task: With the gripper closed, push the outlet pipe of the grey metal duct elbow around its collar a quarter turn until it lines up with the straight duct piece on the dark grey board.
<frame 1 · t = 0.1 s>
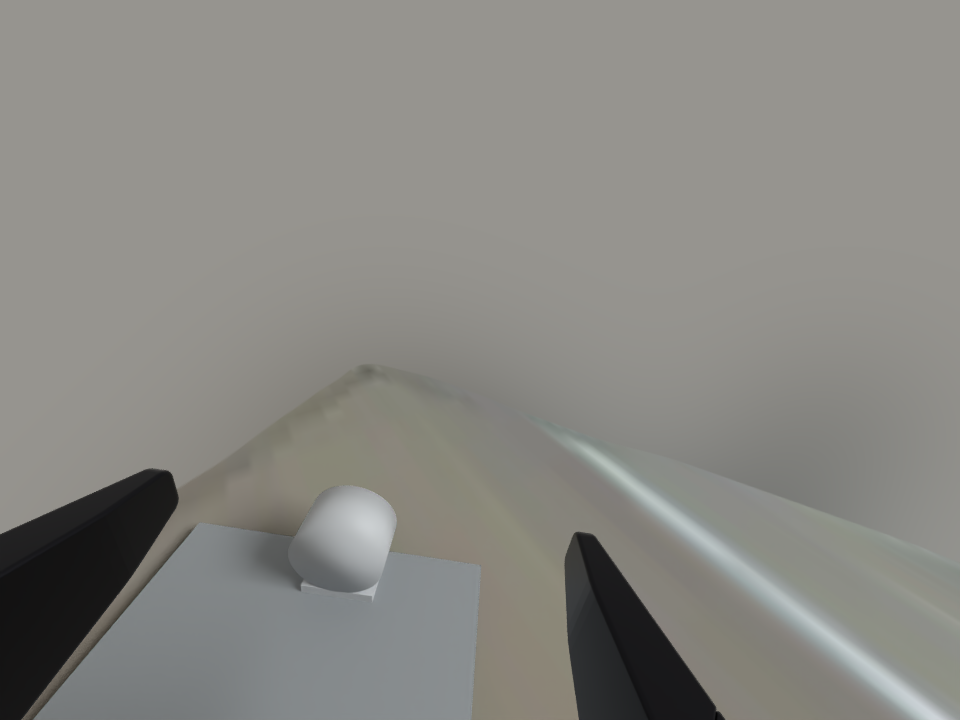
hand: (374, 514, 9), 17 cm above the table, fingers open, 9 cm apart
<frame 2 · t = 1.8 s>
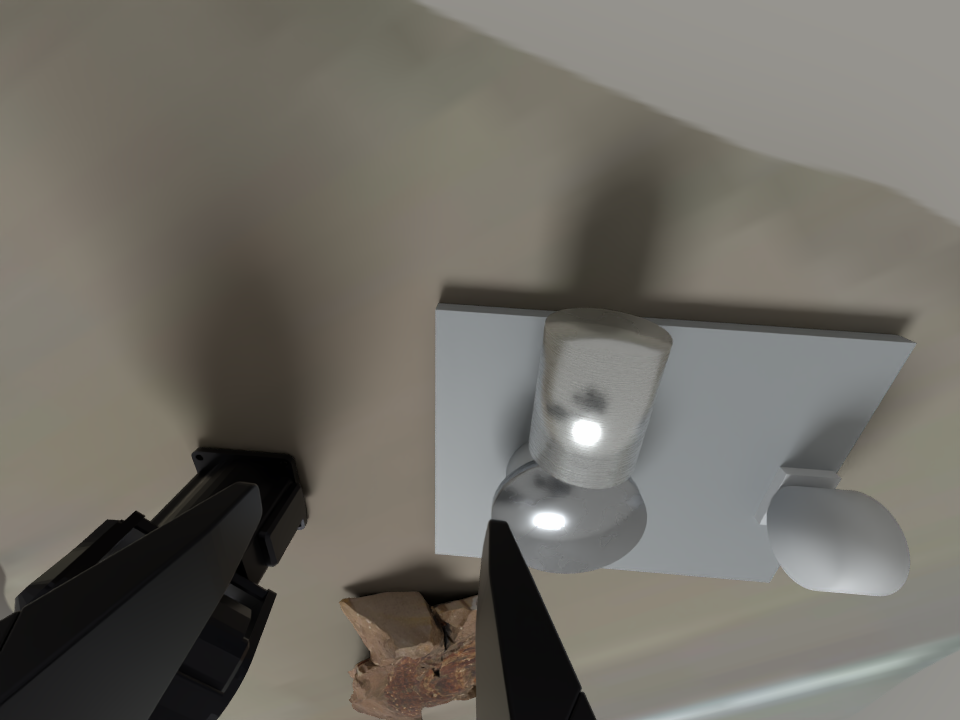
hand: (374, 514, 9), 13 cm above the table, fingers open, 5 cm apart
duct base: (625, 457, 24), on the table
fossil: (454, 642, 35), on the table
elbow: (576, 467, 19), point 4 cm above the table, hinge at 90.0°
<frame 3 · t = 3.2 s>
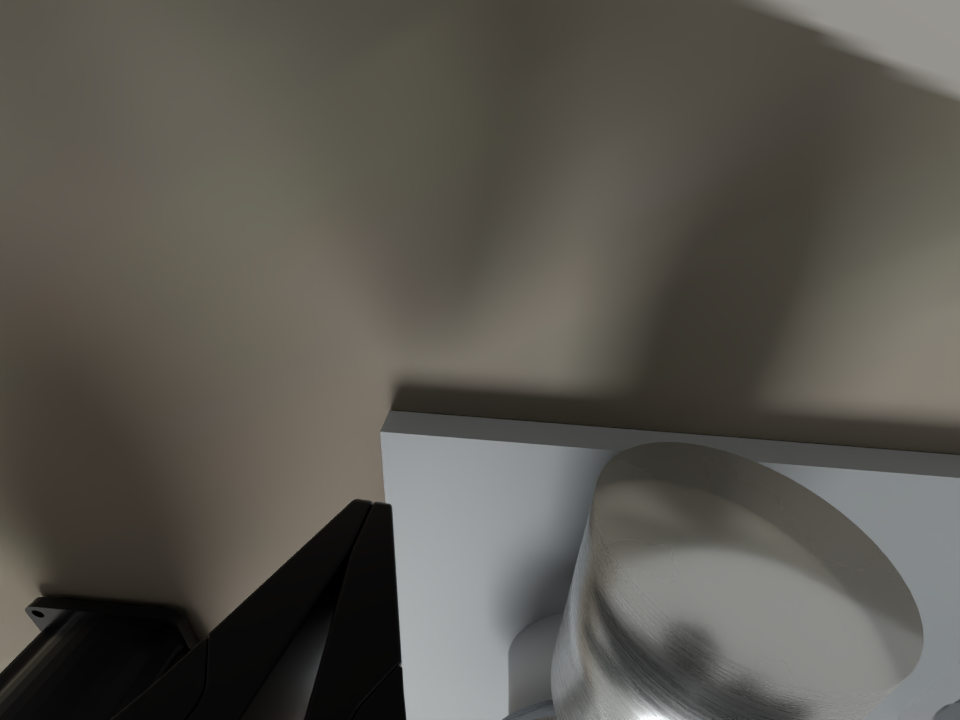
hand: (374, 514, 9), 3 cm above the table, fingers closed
duct base: (696, 626, 15), on the table
elbow: (638, 718, 11), point 4 cm above the table, hinge at 90.0°
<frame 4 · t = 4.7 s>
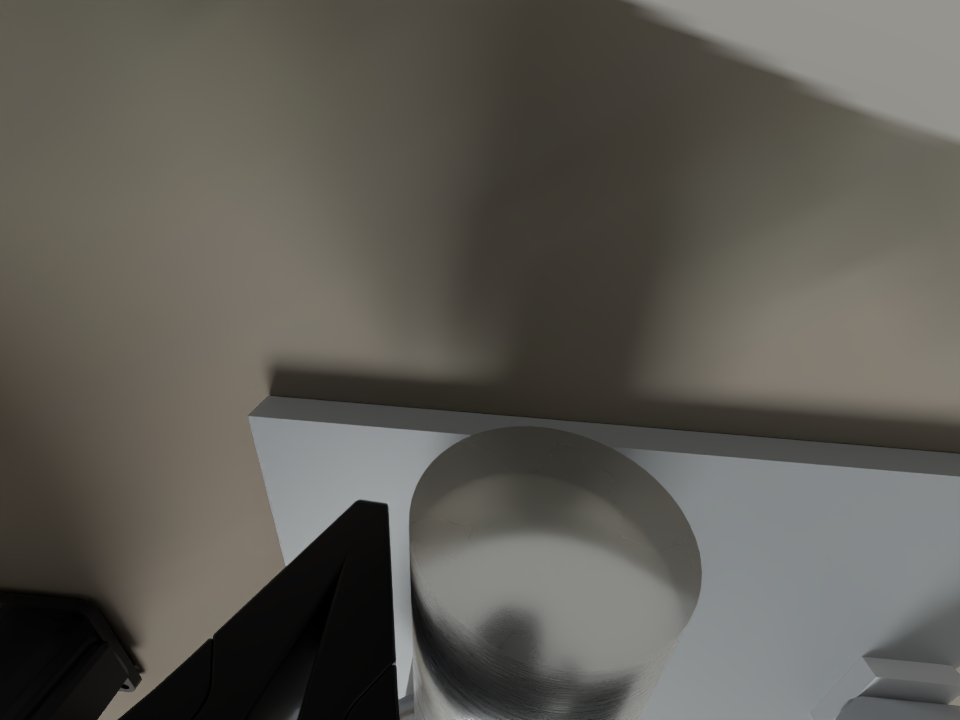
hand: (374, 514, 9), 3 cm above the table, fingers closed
duct base: (607, 620, 15), on the table
elbow: (509, 709, 10), point 4 cm above the table, hinge at 89.9°, touching gripper
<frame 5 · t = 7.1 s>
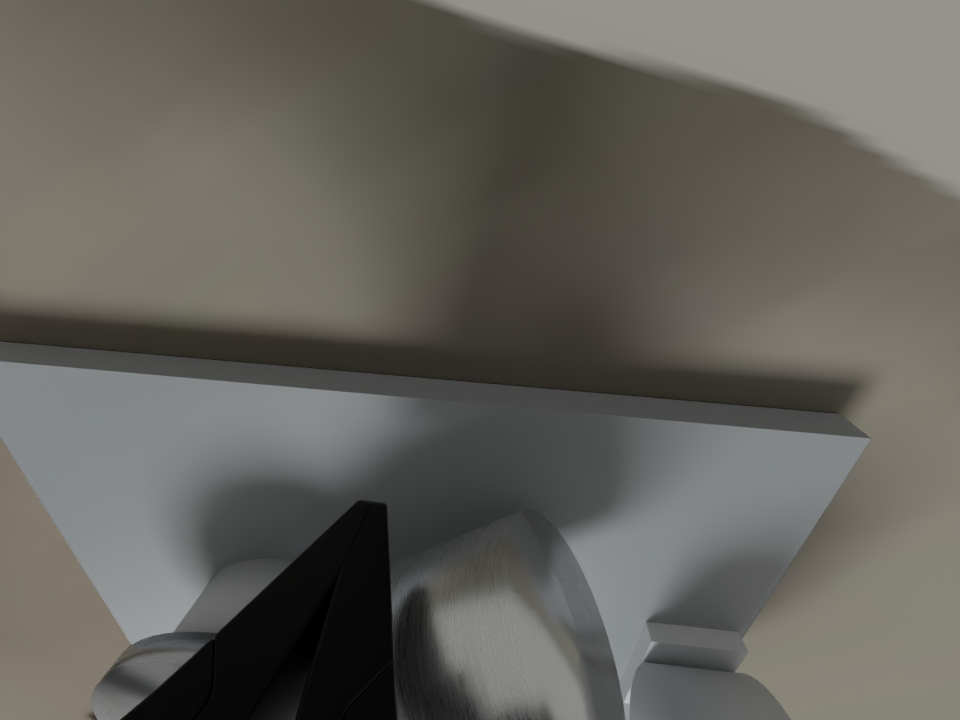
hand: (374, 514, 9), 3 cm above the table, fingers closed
duct base: (407, 584, 15), on the table
elbow: (325, 697, 11), point 4 cm above the table, hinge at 37.0°, touching gripper
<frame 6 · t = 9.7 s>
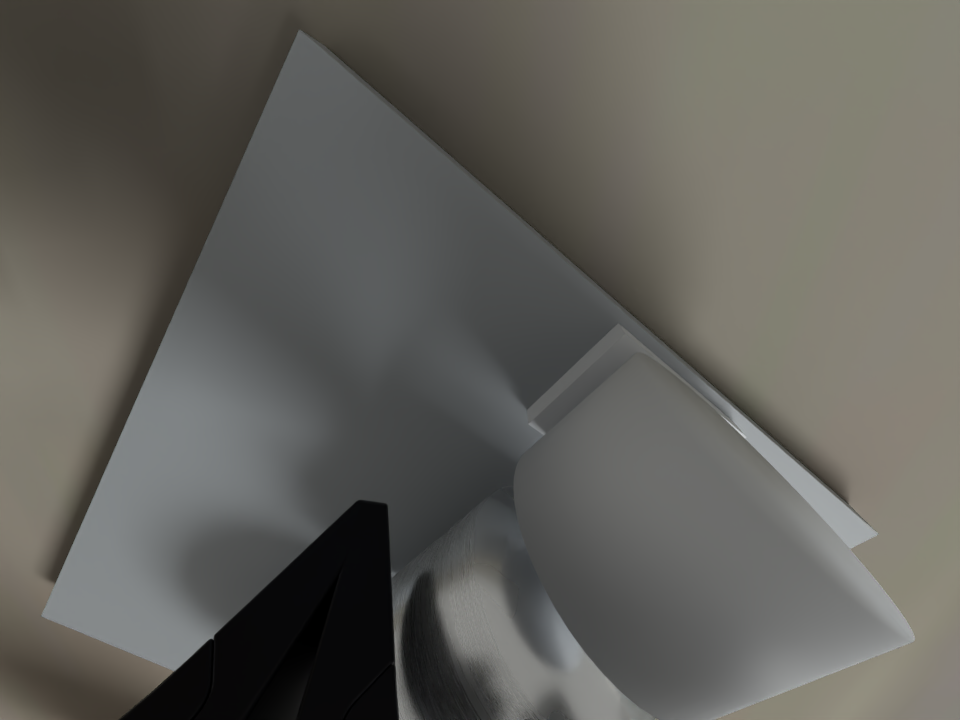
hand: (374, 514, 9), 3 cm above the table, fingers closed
duct base: (393, 556, 14), on the table
elbow: (376, 712, 11), point 4 cm above the table, hinge at -1.1°, touching gripper
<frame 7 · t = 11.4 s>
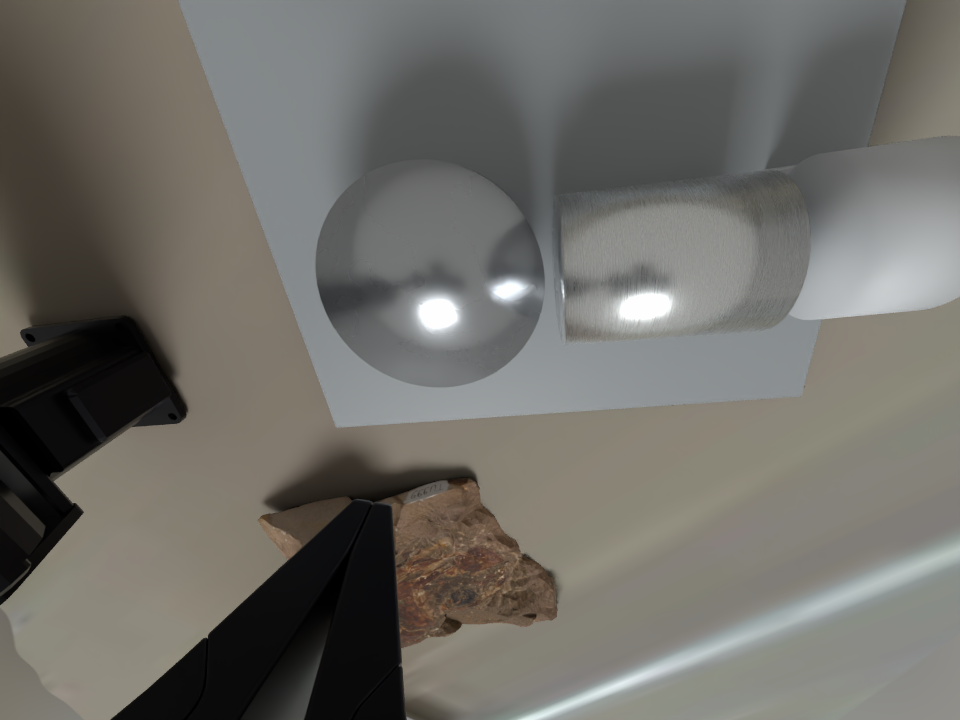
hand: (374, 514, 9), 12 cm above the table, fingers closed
duct base: (536, 224, 17), on the table
fossil: (418, 567, 29), on the table
elbow: (526, 275, 14), point 4 cm above the table, hinge at -1.3°
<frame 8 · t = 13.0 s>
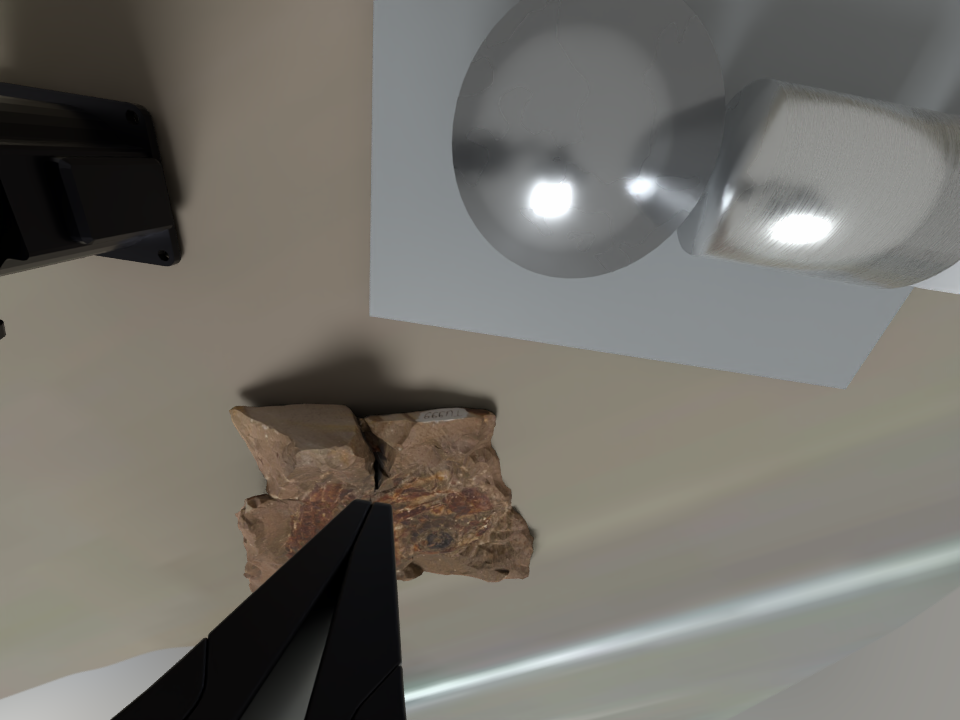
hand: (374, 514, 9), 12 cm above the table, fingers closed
duct base: (670, 138, 15), on the table
fossil: (392, 503, 26), on the table
elbow: (686, 168, 12), point 4 cm above the table, hinge at -1.3°
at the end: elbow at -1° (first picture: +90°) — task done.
